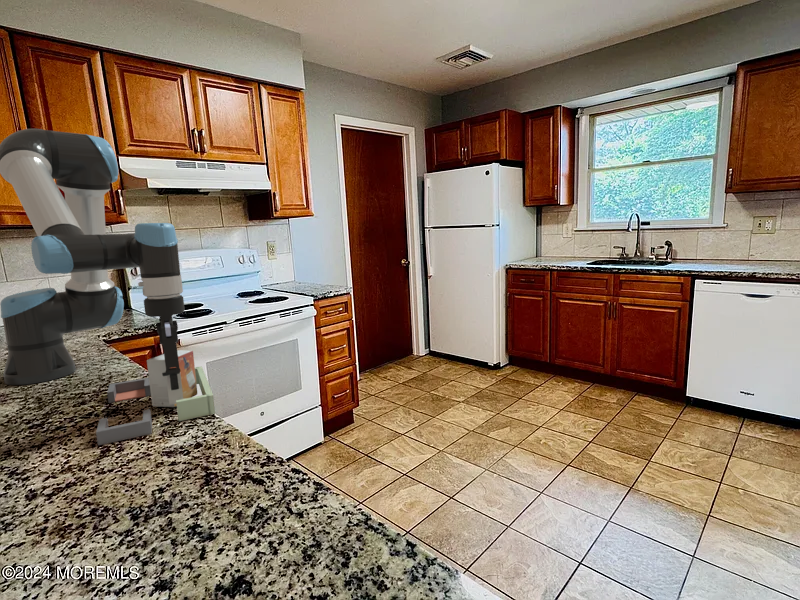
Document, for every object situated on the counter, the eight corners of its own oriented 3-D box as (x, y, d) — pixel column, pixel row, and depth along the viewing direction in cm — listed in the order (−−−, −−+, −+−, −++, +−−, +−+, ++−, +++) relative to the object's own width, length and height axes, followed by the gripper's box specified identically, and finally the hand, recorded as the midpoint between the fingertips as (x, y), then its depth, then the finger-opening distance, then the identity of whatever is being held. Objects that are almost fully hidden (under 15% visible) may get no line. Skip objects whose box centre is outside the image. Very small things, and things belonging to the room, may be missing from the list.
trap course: (111, 394, 103) (108, 378, 103) (202, 377, 113) (200, 363, 112) (98, 445, 78) (94, 424, 77) (217, 418, 87) (215, 400, 87)
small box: (174, 408, 92) (168, 360, 91) (151, 406, 94) (145, 359, 92) (198, 394, 100) (193, 349, 98) (177, 393, 101) (172, 349, 100)
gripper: (143, 292, 101) (155, 384, 104) (142, 304, 82) (156, 417, 85) (179, 289, 104) (190, 378, 108) (186, 300, 85) (198, 408, 89)
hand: (175, 395), depth 97 cm, fingers closed on small box, 9 cm apart
